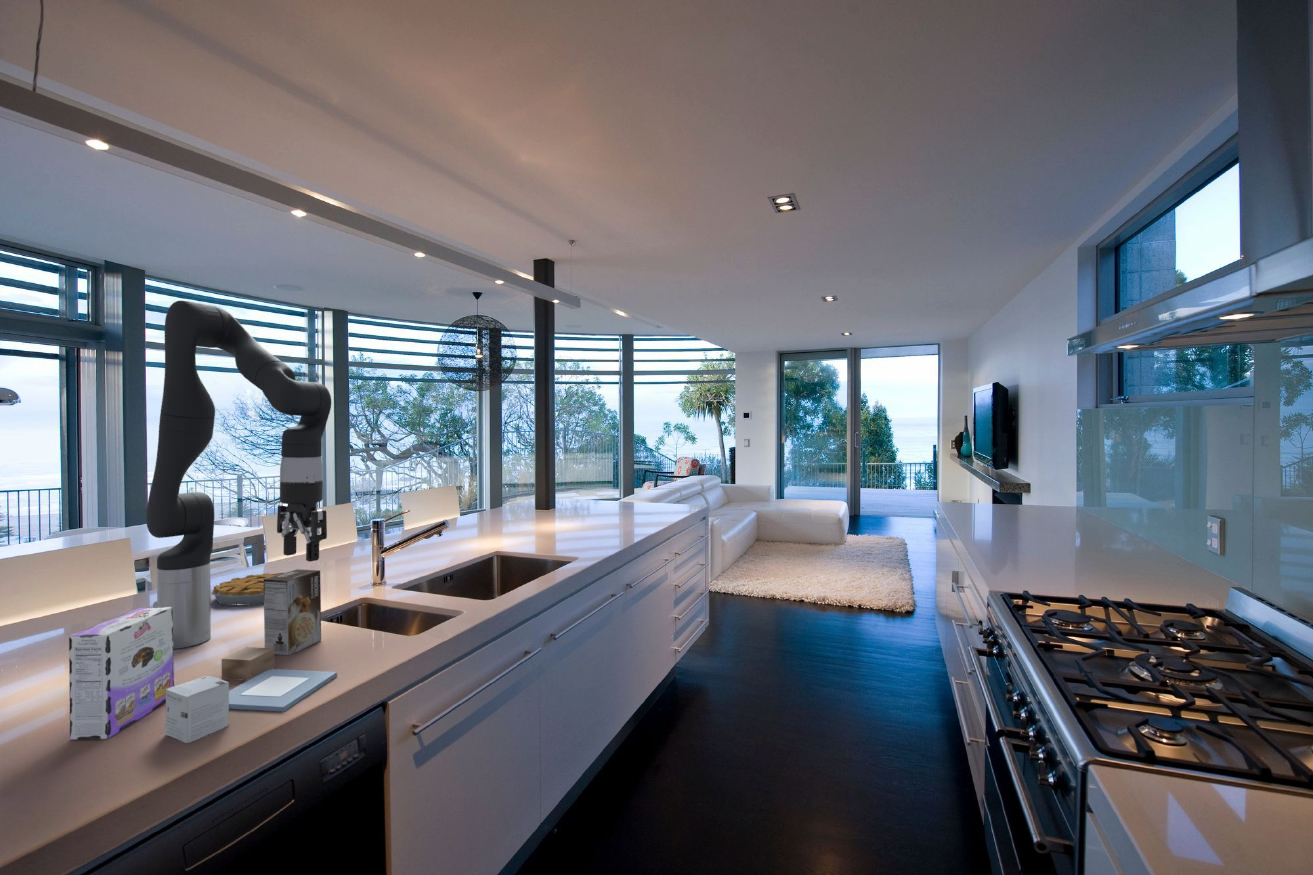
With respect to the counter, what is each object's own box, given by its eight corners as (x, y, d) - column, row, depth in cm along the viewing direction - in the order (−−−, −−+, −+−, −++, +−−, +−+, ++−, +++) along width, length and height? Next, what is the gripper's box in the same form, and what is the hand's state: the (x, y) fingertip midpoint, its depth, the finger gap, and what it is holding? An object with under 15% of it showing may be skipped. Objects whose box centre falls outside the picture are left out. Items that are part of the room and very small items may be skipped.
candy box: (140, 698, 102) (139, 606, 102) (175, 697, 102) (175, 605, 102) (67, 741, 88) (66, 634, 88) (108, 739, 89) (107, 633, 88)
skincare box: (164, 735, 90) (164, 689, 90) (207, 717, 95) (207, 673, 95) (187, 744, 87) (186, 696, 87) (230, 725, 93) (230, 680, 93)
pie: (272, 608, 153) (272, 589, 153) (191, 607, 154) (191, 589, 154) (321, 586, 175) (321, 569, 175) (250, 585, 176) (250, 569, 175)
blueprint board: (207, 707, 99) (207, 702, 99) (269, 672, 113) (269, 668, 113) (283, 711, 98) (283, 706, 98) (336, 676, 111) (336, 671, 111)
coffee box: (298, 638, 131) (297, 568, 131) (322, 640, 130) (321, 569, 130) (263, 653, 122) (262, 578, 122) (288, 656, 121) (288, 580, 121)
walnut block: (221, 679, 110) (221, 658, 110) (246, 666, 116) (246, 647, 116) (250, 681, 110) (250, 660, 110) (274, 668, 116) (274, 648, 116)
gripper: (263, 477, 118) (263, 556, 118) (301, 482, 111) (301, 566, 111) (301, 475, 125) (301, 550, 125) (340, 480, 117) (339, 559, 118)
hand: (301, 557), depth 118 cm, fingers open, 8 cm apart
